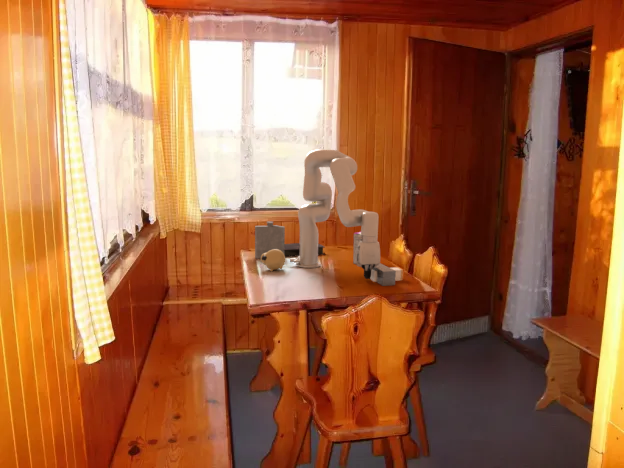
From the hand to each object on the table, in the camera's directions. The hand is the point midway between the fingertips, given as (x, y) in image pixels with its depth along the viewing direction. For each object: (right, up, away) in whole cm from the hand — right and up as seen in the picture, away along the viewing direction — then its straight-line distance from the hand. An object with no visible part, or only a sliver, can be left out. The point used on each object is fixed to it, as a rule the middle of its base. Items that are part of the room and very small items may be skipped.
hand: (367, 278), depth 233 cm
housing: (+6, -1, +2) cm, 6 cm away
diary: (-33, +9, +59) cm, 68 cm away
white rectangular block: (+9, -1, +3) cm, 10 cm away
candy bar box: (+1, +5, +37) cm, 37 cm away
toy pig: (-45, +2, +16) cm, 48 cm away
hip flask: (-48, +7, +43) cm, 65 cm away
